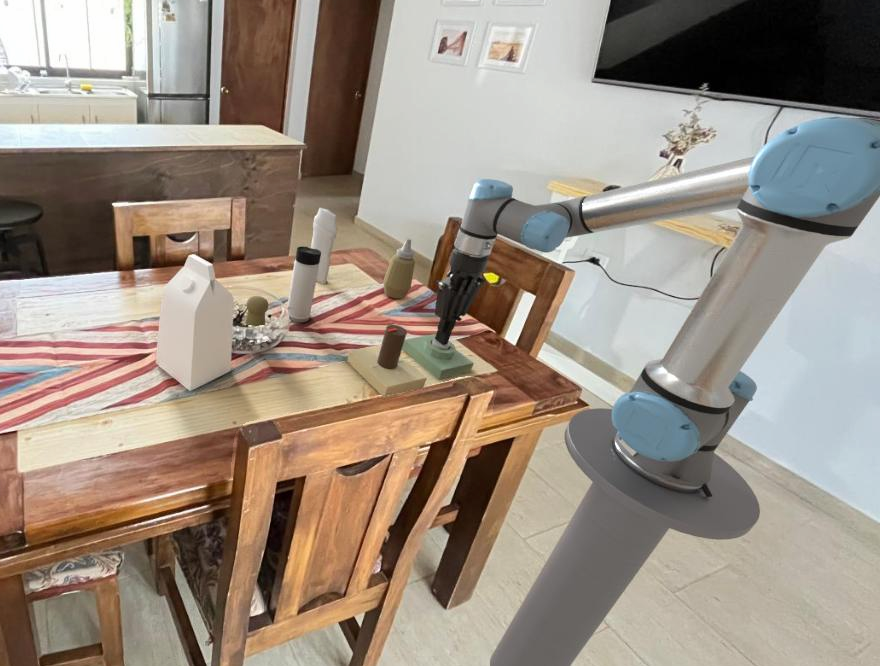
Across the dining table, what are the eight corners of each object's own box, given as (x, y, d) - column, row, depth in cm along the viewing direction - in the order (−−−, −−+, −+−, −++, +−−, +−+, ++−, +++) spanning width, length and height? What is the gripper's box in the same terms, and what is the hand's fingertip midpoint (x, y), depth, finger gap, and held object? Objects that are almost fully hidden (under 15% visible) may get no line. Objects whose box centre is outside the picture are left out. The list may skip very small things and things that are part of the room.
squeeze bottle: (398, 287, 160) (412, 233, 151) (413, 300, 153) (429, 244, 145) (375, 289, 157) (389, 234, 149) (390, 302, 150) (405, 245, 142)
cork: (254, 347, 122) (259, 307, 117) (235, 336, 126) (240, 297, 121) (270, 338, 126) (276, 299, 121) (251, 328, 130) (256, 290, 125)
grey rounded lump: (451, 352, 123) (453, 345, 122) (438, 355, 122) (440, 348, 121) (439, 343, 126) (441, 336, 125) (426, 346, 125) (429, 339, 124)
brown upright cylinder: (388, 356, 119) (398, 322, 115) (401, 367, 116) (411, 332, 111) (373, 359, 117) (382, 325, 113) (385, 370, 114) (395, 335, 110)
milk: (230, 370, 113) (242, 264, 101) (190, 391, 106) (197, 278, 94) (195, 345, 121) (203, 243, 109) (155, 363, 113) (158, 255, 101)
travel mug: (282, 319, 135) (293, 249, 126) (289, 308, 141) (300, 241, 132) (305, 325, 134) (318, 255, 124) (311, 314, 139) (324, 246, 130)
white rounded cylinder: (300, 270, 163) (311, 204, 153) (311, 269, 165) (322, 203, 155) (320, 285, 155) (333, 216, 145) (331, 283, 157) (345, 215, 147)
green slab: (470, 372, 122) (476, 356, 120) (438, 379, 118) (444, 363, 116) (432, 342, 132) (437, 327, 130) (401, 348, 128) (406, 333, 126)
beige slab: (423, 388, 115) (427, 377, 113) (384, 398, 110) (387, 386, 109) (384, 353, 126) (386, 342, 124) (346, 360, 121) (349, 349, 120)
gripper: (462, 261, 106) (431, 354, 117) (506, 255, 112) (472, 345, 123) (436, 246, 112) (409, 336, 123) (479, 242, 118) (450, 329, 129)
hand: (441, 341), depth 123 cm, fingers closed
